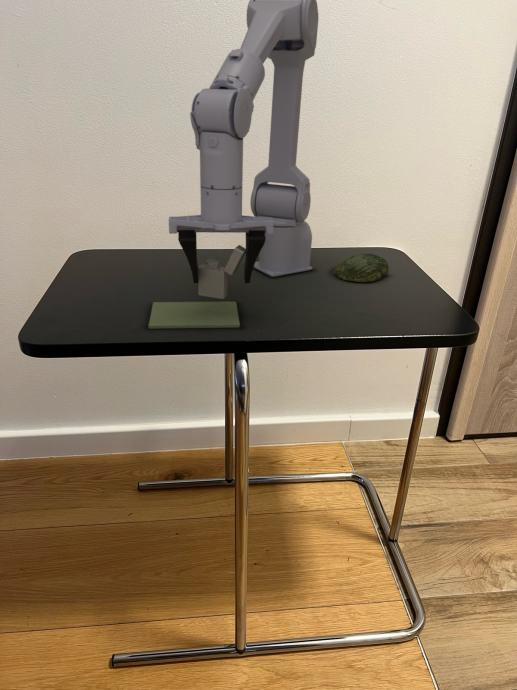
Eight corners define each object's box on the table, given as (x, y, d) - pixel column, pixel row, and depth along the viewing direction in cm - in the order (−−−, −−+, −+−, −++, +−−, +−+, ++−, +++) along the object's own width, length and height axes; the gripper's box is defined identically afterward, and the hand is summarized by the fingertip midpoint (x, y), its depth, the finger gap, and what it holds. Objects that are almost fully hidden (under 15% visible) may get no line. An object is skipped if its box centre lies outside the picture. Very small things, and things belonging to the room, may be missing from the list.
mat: (236, 304, 86) (236, 301, 86) (239, 327, 78) (239, 324, 78) (153, 305, 85) (153, 302, 85) (148, 328, 77) (148, 325, 77)
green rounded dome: (337, 243, 105) (390, 248, 103) (335, 263, 107) (387, 268, 105) (333, 262, 96) (390, 267, 95) (331, 283, 98) (387, 289, 97)
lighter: (197, 294, 81) (196, 242, 77) (202, 291, 82) (201, 239, 79) (242, 302, 79) (243, 248, 75) (246, 298, 80) (247, 245, 77)
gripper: (165, 191, 69) (170, 290, 75) (278, 192, 71) (273, 290, 77) (168, 181, 76) (172, 274, 82) (271, 183, 77) (268, 274, 83)
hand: (221, 281), depth 80 cm, fingers closed on lighter, 7 cm apart
